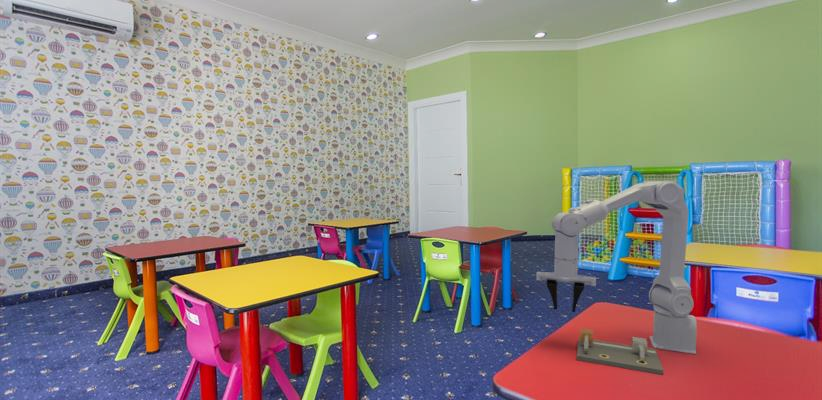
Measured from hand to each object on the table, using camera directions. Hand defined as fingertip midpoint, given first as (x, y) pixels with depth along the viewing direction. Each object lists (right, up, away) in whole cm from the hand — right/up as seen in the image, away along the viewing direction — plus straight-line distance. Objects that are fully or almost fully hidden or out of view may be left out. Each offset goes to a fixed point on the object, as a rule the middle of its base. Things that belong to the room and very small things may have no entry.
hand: (564, 309), depth 108 cm
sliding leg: (+4, -8, -4) cm, 10 cm away
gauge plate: (+11, -10, -6) cm, 16 cm away
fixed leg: (+15, -9, -9) cm, 19 cm away
